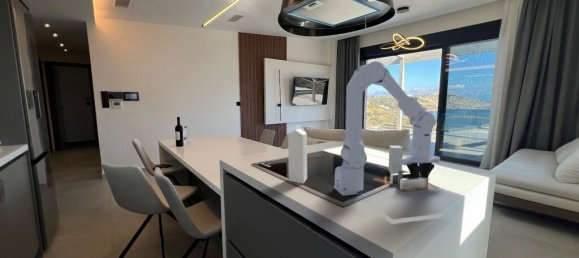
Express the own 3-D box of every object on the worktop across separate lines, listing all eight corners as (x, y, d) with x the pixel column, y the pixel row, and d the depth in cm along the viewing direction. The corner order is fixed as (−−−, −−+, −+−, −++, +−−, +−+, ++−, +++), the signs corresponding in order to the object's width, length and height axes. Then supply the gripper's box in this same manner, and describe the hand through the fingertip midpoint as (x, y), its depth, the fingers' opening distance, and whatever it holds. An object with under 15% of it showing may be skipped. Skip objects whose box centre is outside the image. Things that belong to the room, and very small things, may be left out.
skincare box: (402, 177, 100) (403, 148, 99) (390, 176, 101) (391, 148, 100) (398, 172, 106) (399, 145, 105) (388, 172, 107) (389, 145, 105)
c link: (414, 181, 92) (414, 172, 92) (428, 187, 86) (428, 177, 85) (390, 183, 90) (390, 174, 90) (402, 190, 83) (402, 180, 83)
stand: (402, 194, 83) (403, 174, 82) (387, 185, 91) (387, 167, 90) (440, 190, 85) (441, 171, 85) (421, 182, 94) (422, 164, 93)
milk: (288, 182, 96) (287, 126, 94) (293, 177, 102) (292, 124, 99) (303, 183, 95) (302, 126, 92) (307, 178, 100) (306, 124, 97)
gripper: (410, 149, 82) (408, 188, 83) (448, 146, 85) (445, 185, 86) (397, 145, 88) (395, 181, 90) (432, 143, 91) (430, 178, 93)
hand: (419, 183), depth 89 cm, fingers open, 3 cm apart
